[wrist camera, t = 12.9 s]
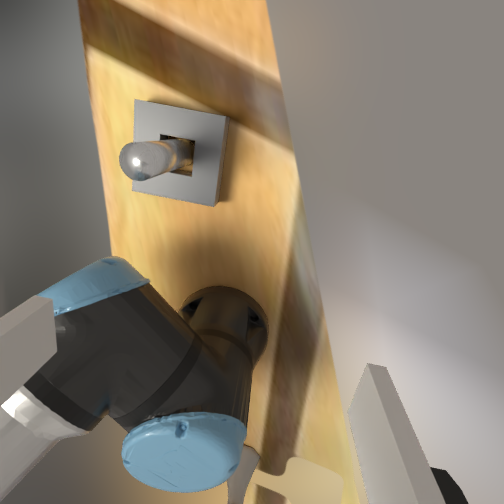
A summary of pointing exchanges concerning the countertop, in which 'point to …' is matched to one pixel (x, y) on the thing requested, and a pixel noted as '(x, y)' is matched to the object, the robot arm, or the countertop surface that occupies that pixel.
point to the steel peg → (155, 157)
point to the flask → (242, 475)
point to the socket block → (205, 154)
